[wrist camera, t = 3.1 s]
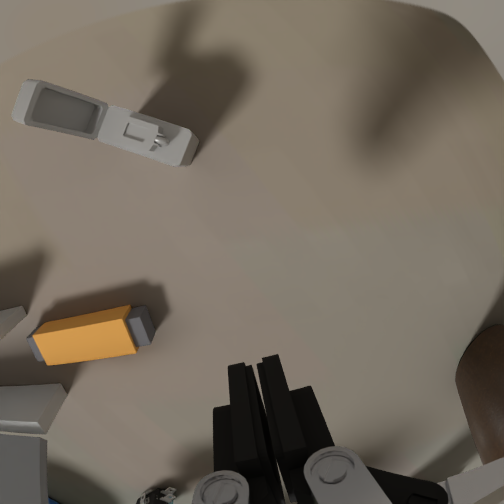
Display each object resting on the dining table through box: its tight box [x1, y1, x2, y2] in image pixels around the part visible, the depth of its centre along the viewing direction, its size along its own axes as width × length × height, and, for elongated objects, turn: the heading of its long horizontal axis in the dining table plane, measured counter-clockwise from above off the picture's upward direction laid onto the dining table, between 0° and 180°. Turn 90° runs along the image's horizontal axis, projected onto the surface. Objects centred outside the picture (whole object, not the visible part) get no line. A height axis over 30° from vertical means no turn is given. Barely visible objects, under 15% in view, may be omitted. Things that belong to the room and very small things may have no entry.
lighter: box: [11, 79, 199, 167], centre depth 13 cm, size 7×2×8 cm, turn 68°
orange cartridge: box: [26, 305, 156, 366], centre depth 19 cm, size 9×2×2 cm, turn 103°
